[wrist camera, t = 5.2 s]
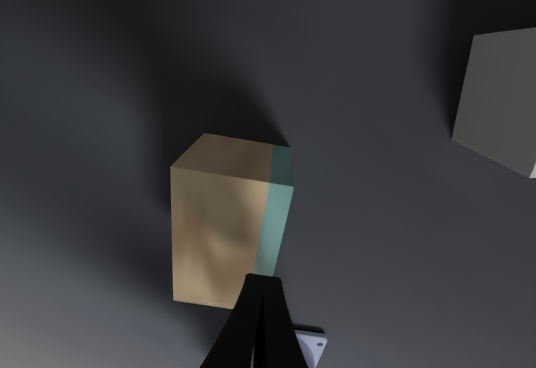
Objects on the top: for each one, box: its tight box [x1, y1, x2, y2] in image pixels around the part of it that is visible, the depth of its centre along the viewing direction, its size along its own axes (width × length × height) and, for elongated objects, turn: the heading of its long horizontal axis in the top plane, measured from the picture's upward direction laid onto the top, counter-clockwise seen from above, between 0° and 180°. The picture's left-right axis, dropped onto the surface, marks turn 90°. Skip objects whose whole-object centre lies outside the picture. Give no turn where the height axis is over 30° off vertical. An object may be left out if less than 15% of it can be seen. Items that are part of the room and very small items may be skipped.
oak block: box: [170, 133, 294, 309], centre depth 14 cm, size 8×5×5 cm
